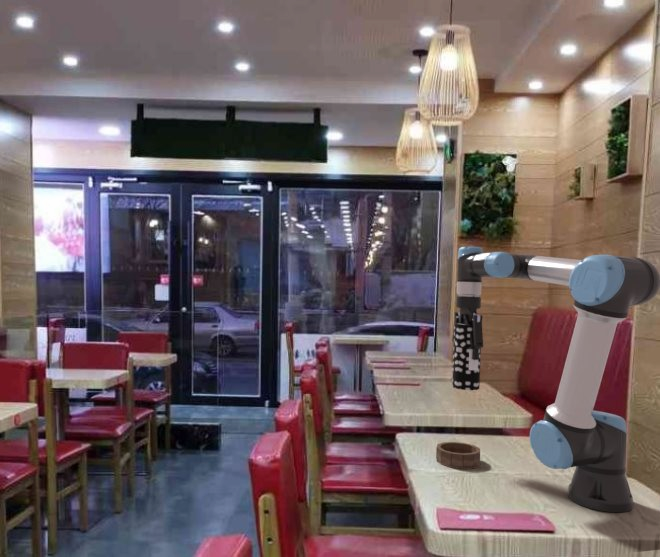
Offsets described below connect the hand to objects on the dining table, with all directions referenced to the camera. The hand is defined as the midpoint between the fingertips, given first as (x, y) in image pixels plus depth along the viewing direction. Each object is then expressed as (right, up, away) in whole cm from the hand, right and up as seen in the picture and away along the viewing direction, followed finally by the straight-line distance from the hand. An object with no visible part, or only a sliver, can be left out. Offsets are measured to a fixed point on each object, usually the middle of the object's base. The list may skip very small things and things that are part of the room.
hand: (466, 367), depth 169 cm
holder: (-2, -30, +1) cm, 30 cm away
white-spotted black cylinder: (0, -7, 0) cm, 7 cm away
